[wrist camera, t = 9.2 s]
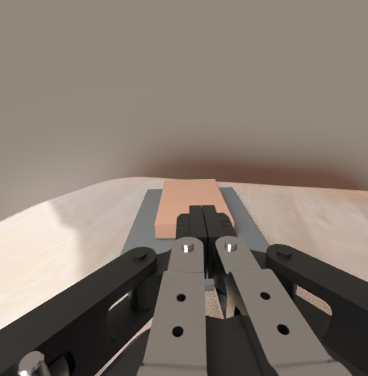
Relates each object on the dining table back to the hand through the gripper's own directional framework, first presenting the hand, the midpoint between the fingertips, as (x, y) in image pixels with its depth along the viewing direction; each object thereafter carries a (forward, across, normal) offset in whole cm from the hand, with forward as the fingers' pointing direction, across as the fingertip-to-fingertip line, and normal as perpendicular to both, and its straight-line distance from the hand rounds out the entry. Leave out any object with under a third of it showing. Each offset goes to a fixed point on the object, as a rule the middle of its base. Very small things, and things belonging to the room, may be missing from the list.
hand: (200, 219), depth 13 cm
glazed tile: (+10, 0, +7) cm, 12 cm away
